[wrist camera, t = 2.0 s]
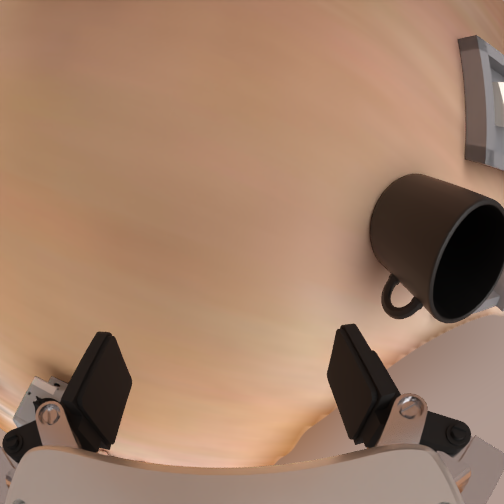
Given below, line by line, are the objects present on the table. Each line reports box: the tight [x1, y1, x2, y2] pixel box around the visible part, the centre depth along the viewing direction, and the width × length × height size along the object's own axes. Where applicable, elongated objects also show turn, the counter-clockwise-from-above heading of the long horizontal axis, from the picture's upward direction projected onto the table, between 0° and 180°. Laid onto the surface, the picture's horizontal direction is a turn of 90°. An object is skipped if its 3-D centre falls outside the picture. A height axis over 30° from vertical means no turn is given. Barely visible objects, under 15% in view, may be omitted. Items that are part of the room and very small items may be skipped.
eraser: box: [492, 82, 504, 127], centre depth 15 cm, size 5×2×2 cm, turn 21°
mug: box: [370, 174, 504, 323], centre depth 18 cm, size 9×12×9 cm
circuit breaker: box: [13, 376, 68, 427], centre depth 21 cm, size 8×14×15 cm, turn 159°
